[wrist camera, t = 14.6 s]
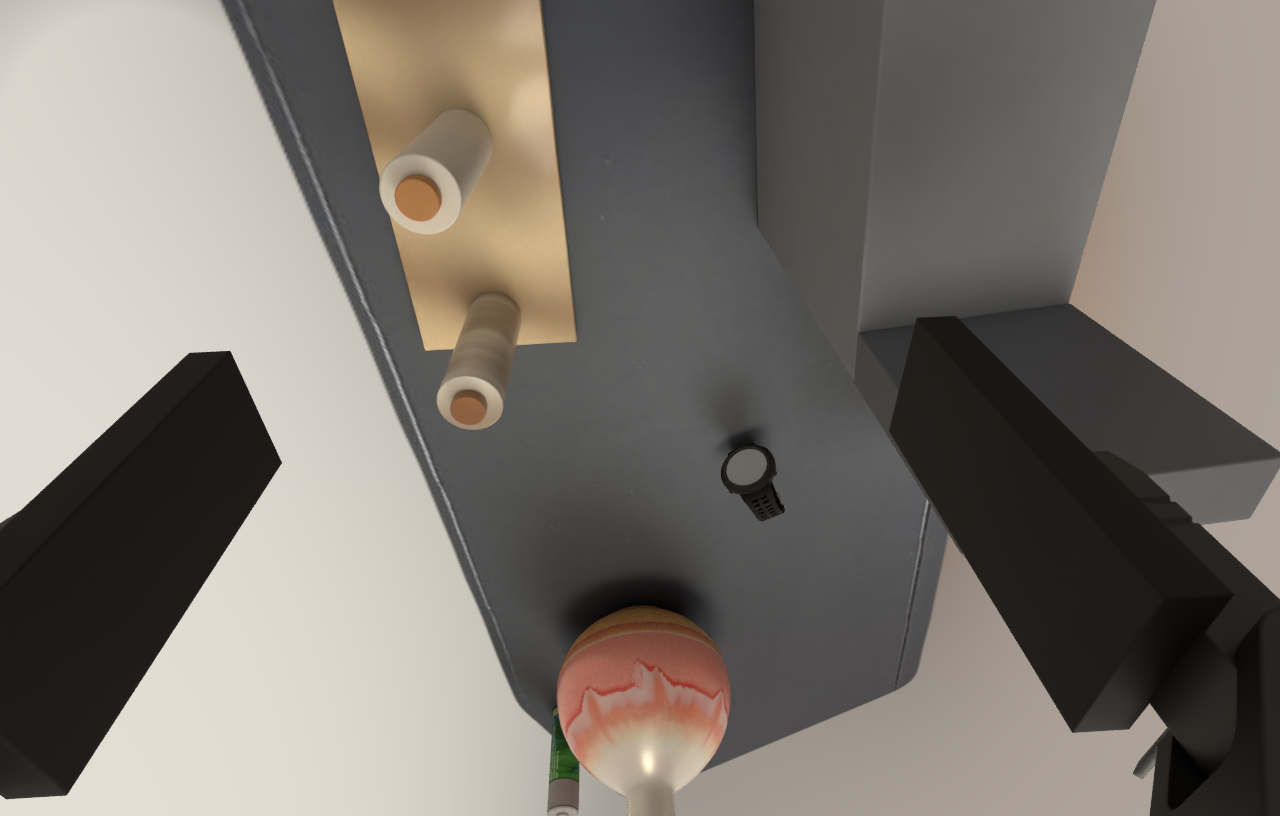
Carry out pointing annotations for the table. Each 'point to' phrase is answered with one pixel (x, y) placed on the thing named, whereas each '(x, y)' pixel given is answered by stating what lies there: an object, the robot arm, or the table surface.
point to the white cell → (436, 172)
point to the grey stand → (975, 211)
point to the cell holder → (501, 200)
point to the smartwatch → (753, 479)
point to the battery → (562, 774)
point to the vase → (644, 704)
